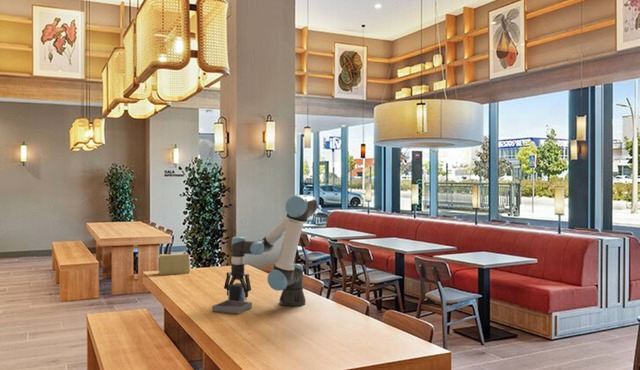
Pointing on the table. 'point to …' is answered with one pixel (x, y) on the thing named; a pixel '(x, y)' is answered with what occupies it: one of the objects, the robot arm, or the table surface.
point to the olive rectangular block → (174, 264)
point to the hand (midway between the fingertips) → (237, 302)
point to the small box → (236, 292)
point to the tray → (232, 307)
